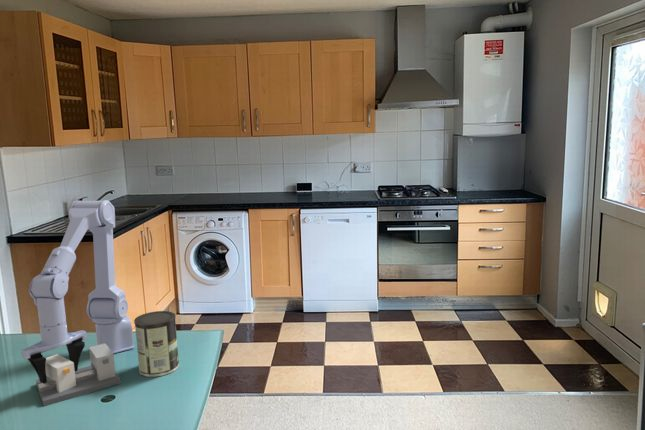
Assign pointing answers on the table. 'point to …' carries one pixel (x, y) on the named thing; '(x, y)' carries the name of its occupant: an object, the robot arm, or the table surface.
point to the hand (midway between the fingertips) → (59, 376)
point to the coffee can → (156, 343)
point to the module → (60, 372)
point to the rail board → (84, 377)
